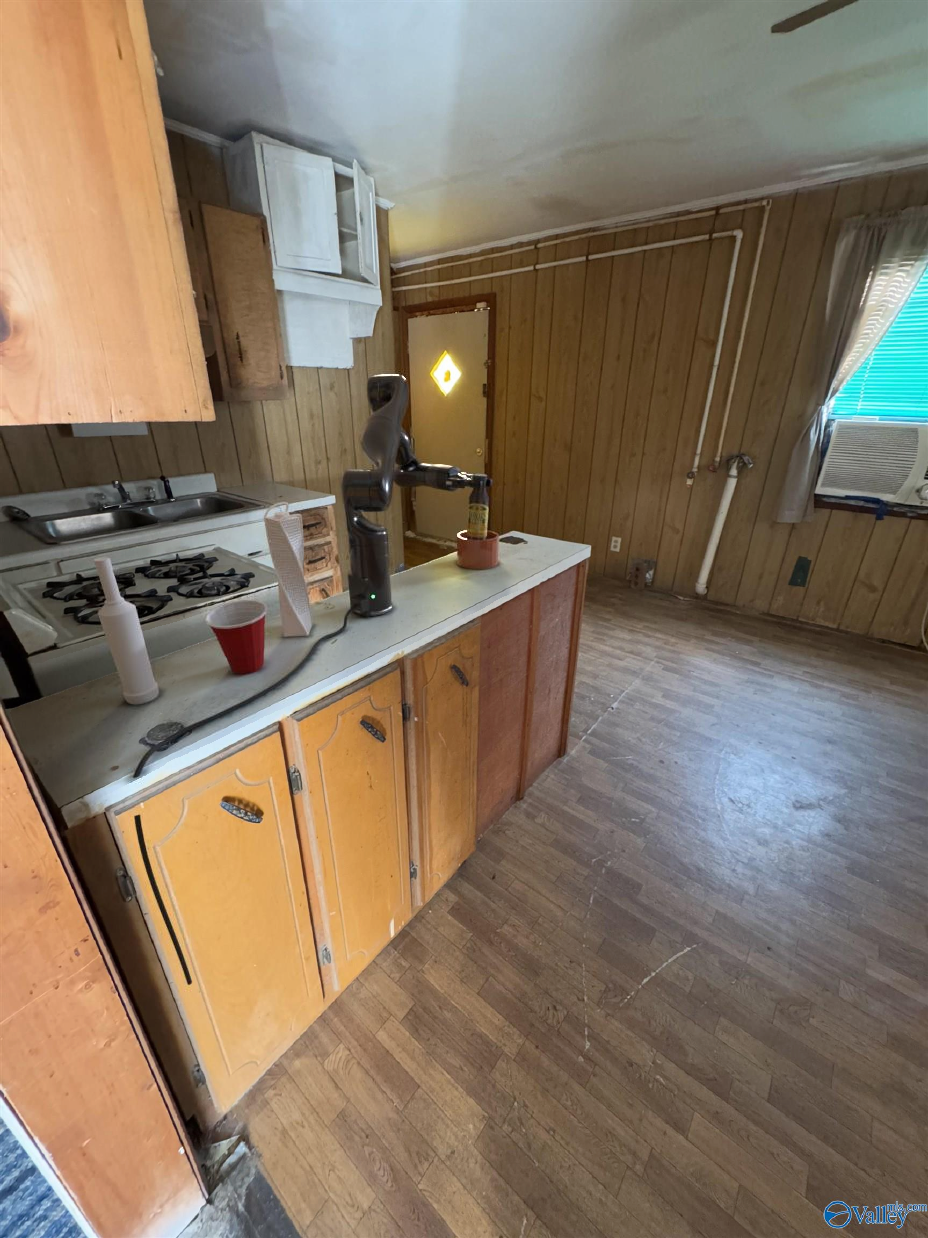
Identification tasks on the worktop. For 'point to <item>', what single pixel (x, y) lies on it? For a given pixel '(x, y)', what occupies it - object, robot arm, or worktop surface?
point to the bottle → (125, 639)
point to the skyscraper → (289, 570)
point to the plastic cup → (240, 633)
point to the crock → (477, 551)
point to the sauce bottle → (478, 511)
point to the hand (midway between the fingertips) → (486, 483)
